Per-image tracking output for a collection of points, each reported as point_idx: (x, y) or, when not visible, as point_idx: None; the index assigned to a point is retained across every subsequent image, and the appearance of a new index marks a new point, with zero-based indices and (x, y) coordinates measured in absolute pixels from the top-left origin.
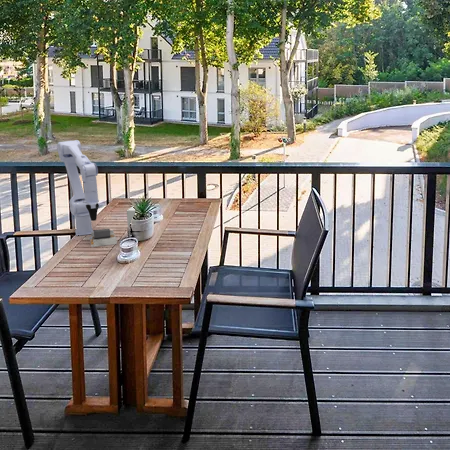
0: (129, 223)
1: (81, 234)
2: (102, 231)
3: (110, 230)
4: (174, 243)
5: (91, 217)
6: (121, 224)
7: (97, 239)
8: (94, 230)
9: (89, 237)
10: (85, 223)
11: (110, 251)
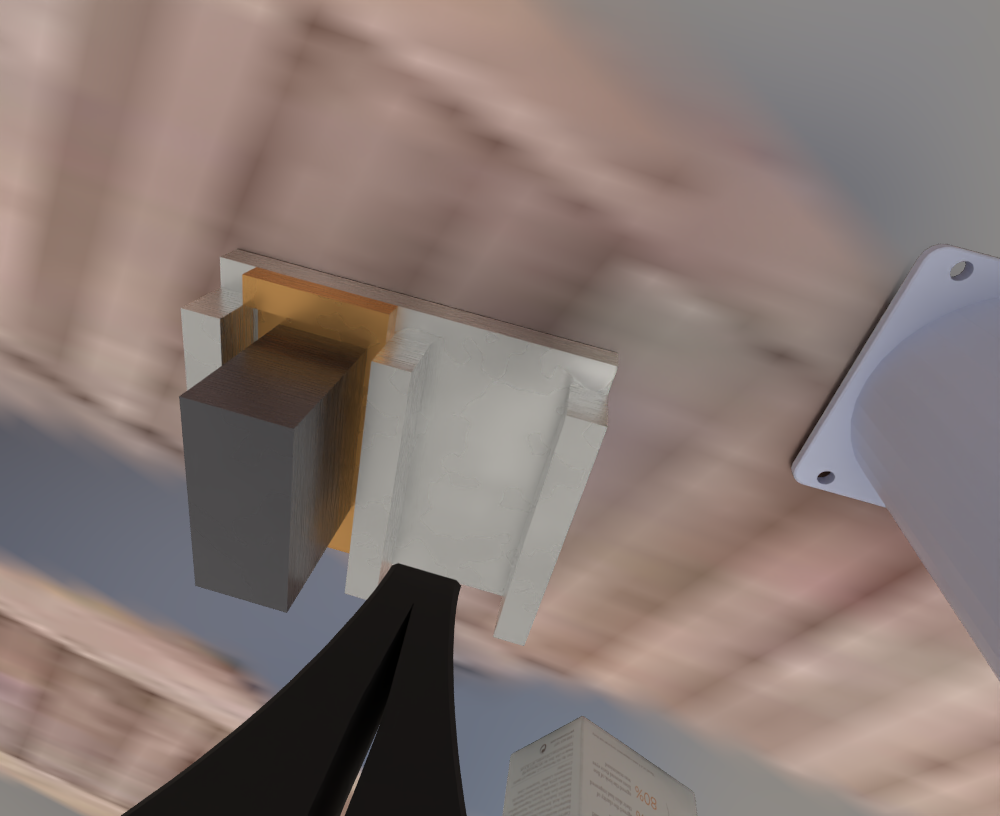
0: (563, 812)
1: (883, 326)
2: (191, 502)
3: (519, 620)
4: (120, 743)
5: (351, 631)
6: (892, 783)
7: (197, 366)
8: (266, 436)
9: (578, 356)
10: (937, 505)
11: (18, 363)
